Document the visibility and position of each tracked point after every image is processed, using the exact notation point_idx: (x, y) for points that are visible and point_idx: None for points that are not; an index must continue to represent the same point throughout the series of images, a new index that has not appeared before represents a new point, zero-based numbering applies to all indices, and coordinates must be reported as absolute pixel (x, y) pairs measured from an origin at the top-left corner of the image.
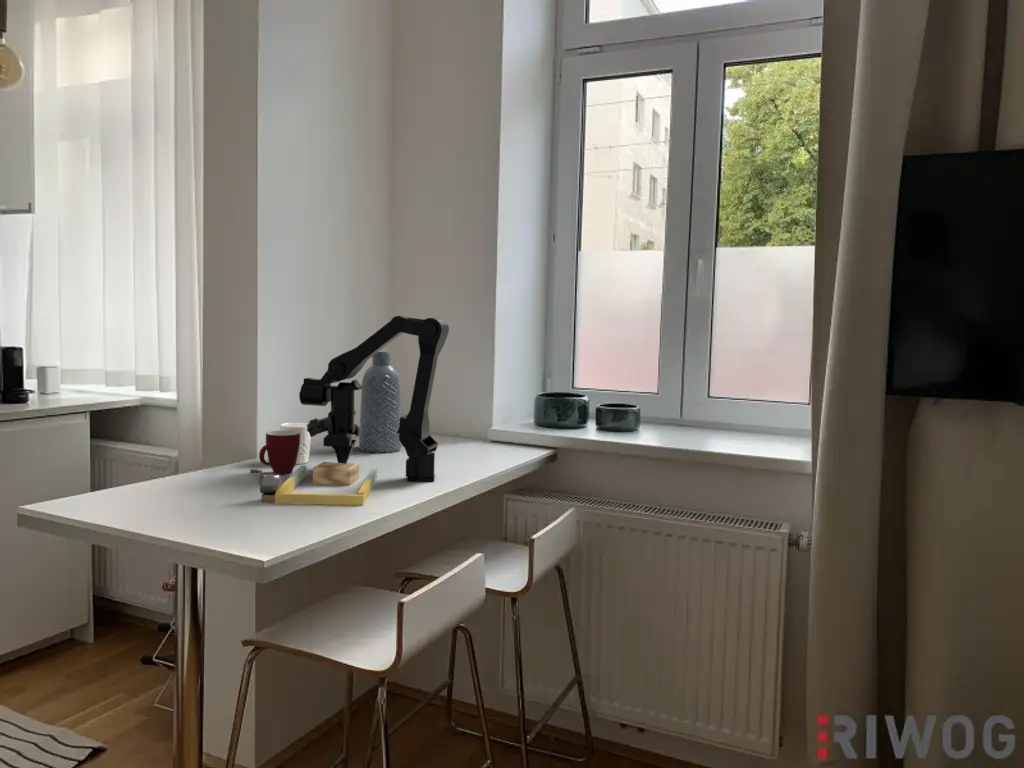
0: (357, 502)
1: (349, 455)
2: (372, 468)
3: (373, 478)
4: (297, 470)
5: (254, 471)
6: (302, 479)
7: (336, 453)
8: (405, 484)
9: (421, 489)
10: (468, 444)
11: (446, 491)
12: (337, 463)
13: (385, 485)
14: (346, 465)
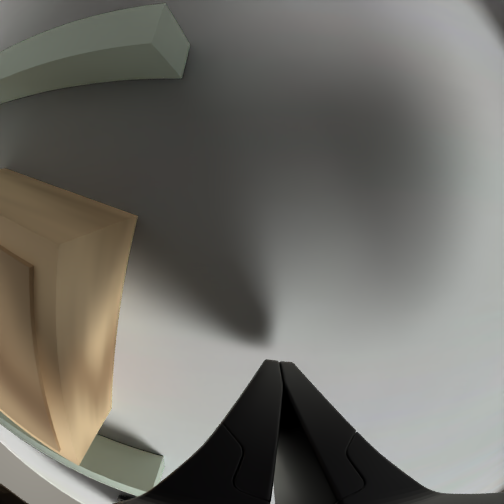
0: None
1: (276, 497)
2: (117, 483)
3: None
4: (7, 52)
5: None
6: (58, 87)
7: (188, 461)
8: (83, 476)
9: (52, 472)
10: (493, 492)
11: (58, 488)
12: (17, 365)
13: None
14: (1, 395)
